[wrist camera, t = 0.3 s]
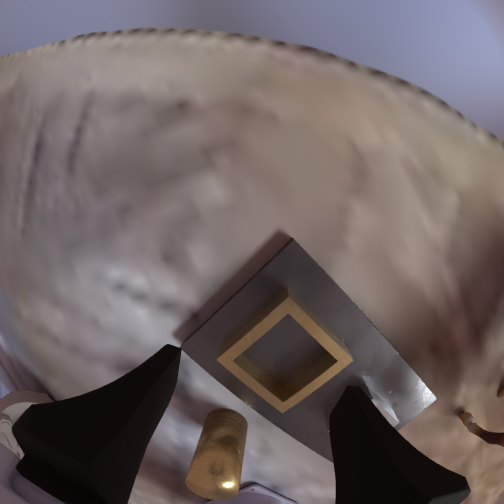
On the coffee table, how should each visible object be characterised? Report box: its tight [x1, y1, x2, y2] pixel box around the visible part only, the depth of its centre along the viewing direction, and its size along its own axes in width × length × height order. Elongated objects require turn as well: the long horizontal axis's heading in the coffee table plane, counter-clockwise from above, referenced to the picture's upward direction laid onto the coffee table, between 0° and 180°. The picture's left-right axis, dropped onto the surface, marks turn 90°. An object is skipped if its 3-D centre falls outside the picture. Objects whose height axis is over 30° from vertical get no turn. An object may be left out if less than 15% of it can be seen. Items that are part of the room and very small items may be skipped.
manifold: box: [180, 238, 437, 462], centre depth 19 cm, size 12×21×6 cm, turn 45°
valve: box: [0, 390, 54, 459], centre depth 24 cm, size 10×20×15 cm
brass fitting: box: [185, 409, 248, 500], centre depth 20 cm, size 4×4×8 cm
